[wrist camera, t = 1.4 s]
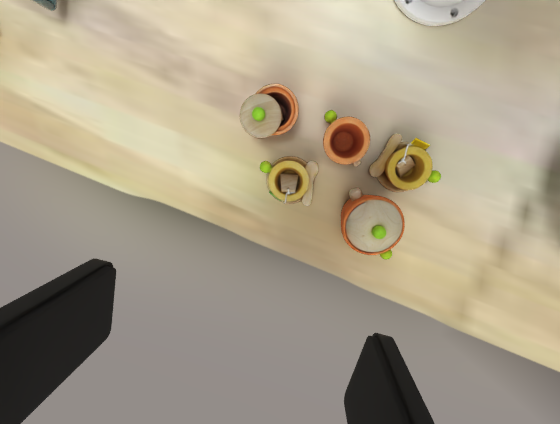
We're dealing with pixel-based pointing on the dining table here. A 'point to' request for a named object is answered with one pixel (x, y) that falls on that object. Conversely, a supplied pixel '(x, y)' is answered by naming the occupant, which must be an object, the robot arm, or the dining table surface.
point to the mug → (47, 4)
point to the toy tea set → (344, 150)
